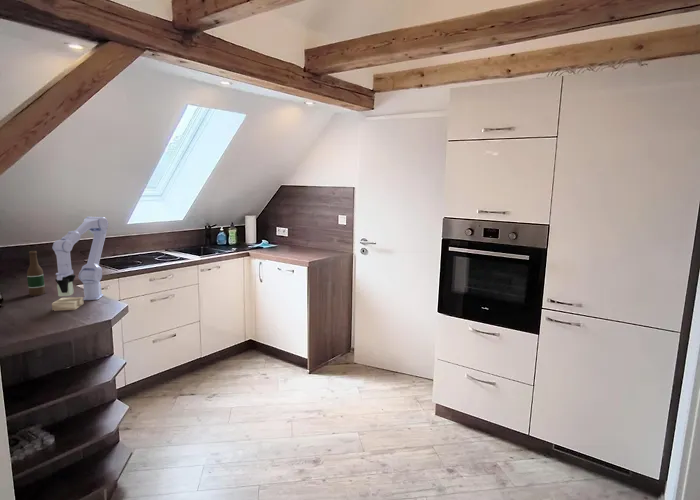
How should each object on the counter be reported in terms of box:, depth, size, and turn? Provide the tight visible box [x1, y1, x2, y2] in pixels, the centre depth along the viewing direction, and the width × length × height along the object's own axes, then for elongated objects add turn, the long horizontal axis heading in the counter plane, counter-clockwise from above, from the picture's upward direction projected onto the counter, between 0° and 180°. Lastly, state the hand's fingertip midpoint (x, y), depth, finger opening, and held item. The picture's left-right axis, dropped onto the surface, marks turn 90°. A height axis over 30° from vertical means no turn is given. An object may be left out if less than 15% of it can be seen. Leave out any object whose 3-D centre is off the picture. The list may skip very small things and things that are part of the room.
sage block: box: [56, 282, 75, 297], centre depth 215 cm, size 5×5×6 cm
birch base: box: [51, 296, 85, 312], centre depth 217 cm, size 10×10×4 cm
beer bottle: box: [26, 250, 46, 297], centre depth 237 cm, size 8×8×24 cm
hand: (66, 291), depth 215 cm, fingers closed on sage block, 5 cm apart
